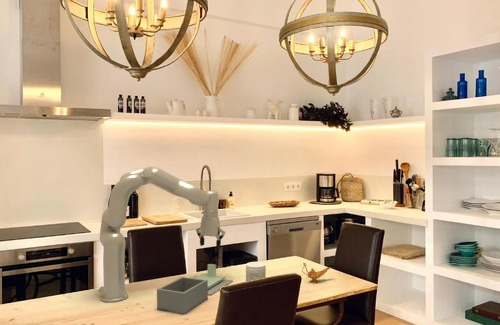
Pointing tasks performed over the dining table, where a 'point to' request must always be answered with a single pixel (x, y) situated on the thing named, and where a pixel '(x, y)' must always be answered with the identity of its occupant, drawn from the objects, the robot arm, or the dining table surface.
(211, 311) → the dining table surface
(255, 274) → the supplement tub
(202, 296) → the parts tub
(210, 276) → the lid
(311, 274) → the magic lamp
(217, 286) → the mat
